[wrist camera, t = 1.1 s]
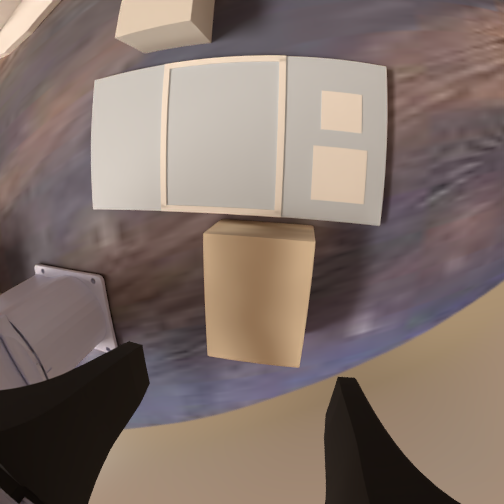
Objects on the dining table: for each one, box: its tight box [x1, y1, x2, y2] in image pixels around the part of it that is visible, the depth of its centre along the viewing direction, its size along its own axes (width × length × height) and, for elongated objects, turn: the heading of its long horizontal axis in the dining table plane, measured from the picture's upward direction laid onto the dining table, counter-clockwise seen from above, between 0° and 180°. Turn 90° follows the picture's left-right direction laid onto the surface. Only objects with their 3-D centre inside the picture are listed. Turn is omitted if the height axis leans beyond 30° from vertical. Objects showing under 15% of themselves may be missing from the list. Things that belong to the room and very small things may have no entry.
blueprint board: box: [91, 55, 387, 226], centre depth 17 cm, size 20×10×1 cm, turn 88°
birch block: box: [203, 219, 315, 368], centre depth 18 cm, size 6×8×4 cm
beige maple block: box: [115, 0, 215, 53], centre depth 13 cm, size 5×5×4 cm
